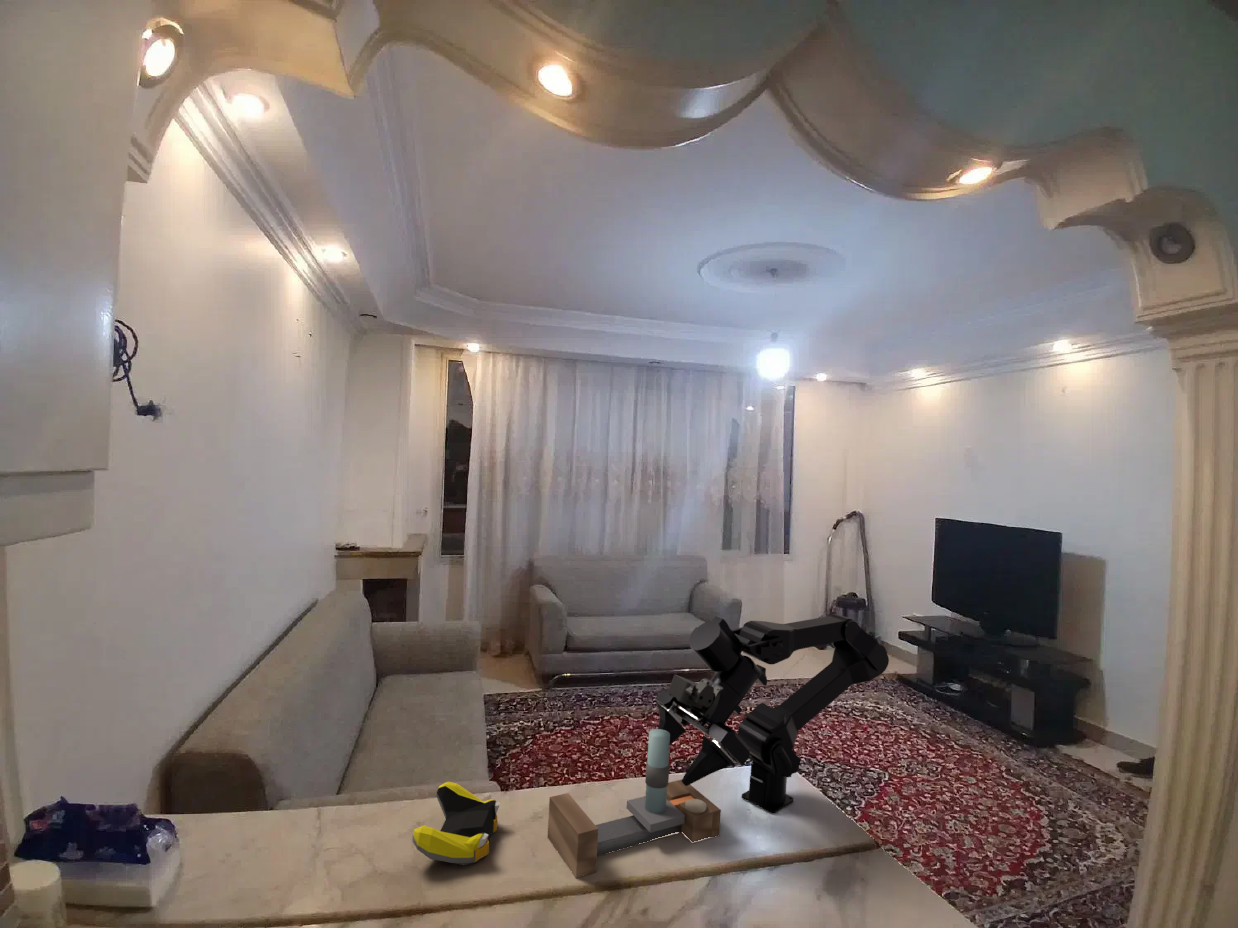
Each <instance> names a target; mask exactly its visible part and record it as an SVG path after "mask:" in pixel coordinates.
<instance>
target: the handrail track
mask: <svg viewBox="0 0 1238 928" xmlns="http://www.w3.org/2000/svg"><path fill="white" fill-rule="evenodd" d="M595 825H596V827H597V828H598V844H597V857H601V856H604V855H607V854H606V853H608V854H610V853H609V852H611V853H613V852H612V851H615V852H618V851H617V850H619V849H622V850H624V849H623V848H626V849H628V848H627V847H629V848H631V847H630V846H633V847H636V846H639V845H638V844H639V843H643V842H647V841H650V840H652V839H655V838H658V837H662V836H665V835H668V834H671V833H675V832H681V824H680V825H677V826H673V827H669V828H666V829H662V830H658V831H655V832H651V833H650V832H649V831H648V830H647V829H646V828H645V827H644V826H643V825H642V824H641V823H640V822H639V821H638V820H637V819H636V818H635V816H634V815H633V814H632V815H630V816H629V815H628V816H626V817H621V818H618V819H614V820H610V821H606V822H601V823H598V824H595ZM650 842H651V841H650ZM647 843H648V842H647ZM643 844H644V843H643ZM635 845H636V846H635ZM619 851H620V850H619Z"/></svg>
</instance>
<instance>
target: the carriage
mask: <svg viewBox="0 0 1238 928" xmlns="http://www.w3.org/2000/svg"><path fill="white" fill-rule="evenodd" d="M669 745H670V733H669V732H668V731H666V730H662V729H658V728H654V729H651V730H649V732H648V745H647V760H646V761H645V763H646V764H645V765H646V766H645V782H644V783H645V784H646V785H645V796H641V797H636V798H633V799H632V798H631V799H628V800H627V801H626V809H627V810H628V812H629V813H630V814H632V816H633V815H634V816H635V818H636V819H637V820H638V821H639V822H640V823H641V824H642V825H643V826H644V827H645V828H646V829H647V830H648V831H649V832H650V833H651V832H655V831H658V830H662V829H666V828H669V827H673V826H677V825H680V824H684V820H685V815H684V814H683V813H682V812H680V811H679V810H678V809H677V808H676V807H675V806H674V805H673V804H672V803H671V802H669V801H668V800H667V786H668V783H669V782H670V781H669V779H670V776H669V775H670V761H669V759H670V746H671V745H670V746H669Z"/></svg>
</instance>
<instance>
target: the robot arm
mask: <svg viewBox="0 0 1238 928" xmlns="http://www.w3.org/2000/svg"><path fill="white" fill-rule="evenodd" d="M828 644H831V646H832V647H833V648H834V650H833V653H832V658H831V662H830V663H828V665H826V666H825V667H824V668H823V669H822V670H820V671H819V672H818V673H817V674H815V675H814V676H813V677H812V678H811V679H809V680H808V681H807V682H806V683H804V685H802V686H801V687H800V688H799V689H797V690H796V691H795V692H793V694H791V695H789V696H788V698H787V699H785V700H784V701H783V702H781V703H780V704H779V705H778V706H776V707H771V705H770V706H769V705H768V704H766V703H764V702H760V703H759V704H757V705H756V706H755V708H754V709H752V710H751V711H750V712H748V713H745V714H744V715H743V716H744V717H745V718H744V719H742V720H741V722H740V723H739V724H738V730H737V731H736V730H734V729H732V728H731V727H729V726H728V725H726V723H727V721H729V719H730V717H731V716H732V715H733V713H734V714H737V715H740V714H741V712H742V711H743V708H741V706H740V704H741V702H742V701H743V700H744V698H745V697H746V696H747V694H748V693H749V691H750V690H751V688H752V687H753V686H754V685H755V683H758V684H760V685H763V686H767V685H768V679H767V678H768V677H767V674H766V673H767V672H766V671H767V668H766V667H764V666H762V665H759V664H758V663H757V664H756V662H755V661H754V660H753V659H755V660H758V661H761V662H763V663H765V664H767V665H775V664H778V663H781V662H783V661H785V660H787V659H790V657H791V656H792V655H793V653H794V652H797V651H798V650H802V649H803V650H805V649H808V648H813V647H818V646H819V647H820V646H822V645H823V646H824V645H828ZM688 645H689V647H690V648H691V649H692V651H693V652H694V653H695V655H697V656H698V657H699V658H700V660H701V661H702V662H703V663H704V664H705V665H706V666H707V668H709V670H710V671H712V672H715V674H713V676H712V677H711V679H709V678H707V677H704V678H702V679H701V680H700V681H699V682H698V683H697V682H695V681H692V680H691V679H688V678H685V677H683V676H680V675H677V674H673V678H672V680H671V682H670V685H669V686H668V687H669V688H667V689H662V690H660V692H659V693H658V695H657V696H656V697H655V701H656V702H657V705H656V708H657V710H658V713H659V723H658V726H657V729H662V730H666V731H668V732H669V733H670V745H669V747H670V746H671V745H672V744H673V743H674V742H675V741H677V740H678V739H679V738H680V737H682V736H683V734H684V733H685V732H686V731H687V730H686V728H685V727H686V726H690V725H692V726H693V727H695V728H696V729H697V730H698V731H700V732H702V733H703V735H702V743H701V749H700V750H699V753H698V754H697V756H695V758H694V760H692V763H691V764H690V766H689V767H688V769H687V770H686V772H685V773H684V775H683V777H682V779H681V780H682V783H683V784H684V785H685V786H688V785H692V784H693V783H696V782H697V781H699V780H701V779H703V778H705V777H708V776H710V775H711V774H714V773H715V772H718V771H721V770H723V769H725V768H727V767H731V768H734V767H735V766H736V764H738V765H739V766H741V767H743V766H744V765H745V763H746V762H747V761H748V760H749V759H750V760H751V761H752V763H751V764H750V776H749V787H748V788H749V789H748V790H747V791H745V792H743V793H742V794H741V799H743V800H744V801H747V802H749V803H751V804H752V805H755V806H756V807H759V808H761V809H763V810H764V811H766V812H768V813H770V814H776V813H777V812H779V811H781V810H782V809H784V808H786V807H787V806H789V805H790V804H792V803H794V799H795V798H794V797H792V796H790V795H788V794H787V779H788V778H792V775H793V774H796V773H798V771H799V767H800V765H801V758H800V757H799V756H798V755H797V754H796V752H795V751H794V747H795V745H796V741H797V735H798V732H800V730H801V729H802V728H803V727H805V726H806V725H807V724H808V723H809V722H811V720H813V719H814V718H815V717H816V716H817V715H818V714H819V713H821V712H822V711H823V710H824V709H825V708H827V707H828V706H829V705H830V704H831V703H833V701H835V700H836V699H837V698H838V697H839V696H841V695H842V693H844V692H846V690H847V689H849V688H850V687H851V686H853V685H856V684H863V683H868V682H872V681H873V680H875V679H876V678H878V677H879V676H881V675H883V673H884V672H885V671H886V669H887V668H888V665H889V662H890V659H889V655H888V652H887V649H886V647H885V646H884V645H882V644H881V643H879V642H878V641H877V640H876V639H875V638H874V637H872V636H871V635H870V634H868V632H866V631H865V630H864V629H863V628H861V626H860V625H859V623H857V621H855V620H854V619H852V618H850V617H847V616H843V615H840V614H837V613H833V614H829V615H827V616H822V617H816V618H811V619H810V618H809V619H804V620H799V621H793V622H788V623H778V622H777V623H776V622H772V621H766V620H765V621H762V620H749V621H747V622H745V623H744V624H743V625H742V626H741V627H739V628H735V629H731V628H730V626H729V624H728V623H727V621H726V620H725V619H724V618H722V617H720V616H718V615H717V616H714V617H713V619H712V620H710V621H706V622H703V623H702V624H700V625H698V627H695V628H694V629H693V630H692V632H691V633H690V635H689V638H688ZM742 653H744V654H745V655H743V654H742ZM751 657H752V658H753V659H752V658H751ZM704 734H705V735H704ZM707 736H708V737H707ZM734 762H735V763H736V764H735V763H734Z"/></svg>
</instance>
